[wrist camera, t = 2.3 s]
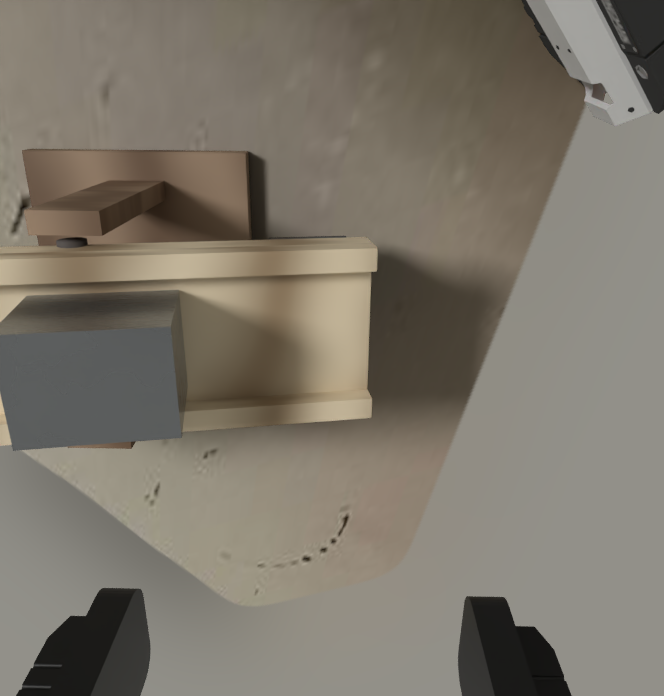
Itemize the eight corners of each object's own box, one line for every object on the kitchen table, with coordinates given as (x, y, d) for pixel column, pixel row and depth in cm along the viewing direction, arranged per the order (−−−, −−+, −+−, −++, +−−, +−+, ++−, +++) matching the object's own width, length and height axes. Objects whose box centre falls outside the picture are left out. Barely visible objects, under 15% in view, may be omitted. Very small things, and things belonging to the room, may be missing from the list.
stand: (70, 378, 39) (-21, 472, 29) (30, 149, 33) (-98, 169, 24) (257, 381, 38) (229, 477, 29) (248, 151, 33) (209, 173, 23)
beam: (-139, 389, 31) (-254, 482, 23) (-192, 224, 28) (-345, 271, 20) (343, 360, 35) (376, 432, 27) (345, 212, 32) (383, 248, 24)
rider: (45, 395, 26) (13, 450, 22) (26, 295, 24) (-13, 335, 20) (187, 386, 27) (181, 437, 23) (178, 289, 25) (170, 326, 21)
